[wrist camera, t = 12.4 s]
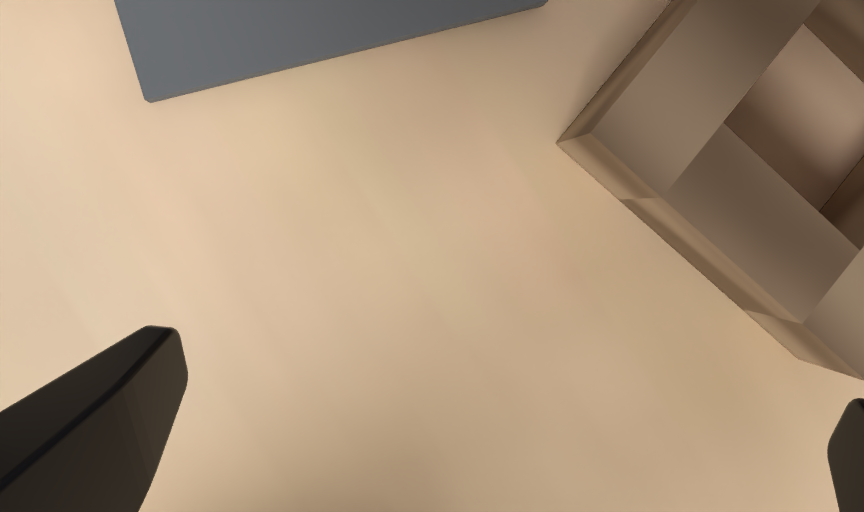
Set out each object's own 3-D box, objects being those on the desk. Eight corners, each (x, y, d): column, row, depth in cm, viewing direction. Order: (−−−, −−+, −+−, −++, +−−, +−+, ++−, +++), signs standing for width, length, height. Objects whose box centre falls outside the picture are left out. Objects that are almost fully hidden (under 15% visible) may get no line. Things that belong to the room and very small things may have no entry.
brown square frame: (798, 359, 23) (865, 381, 20) (555, 143, 22) (589, 133, 19) (998, 106, 24) (1092, 91, 21) (773, -124, 22) (841, -176, 19)
